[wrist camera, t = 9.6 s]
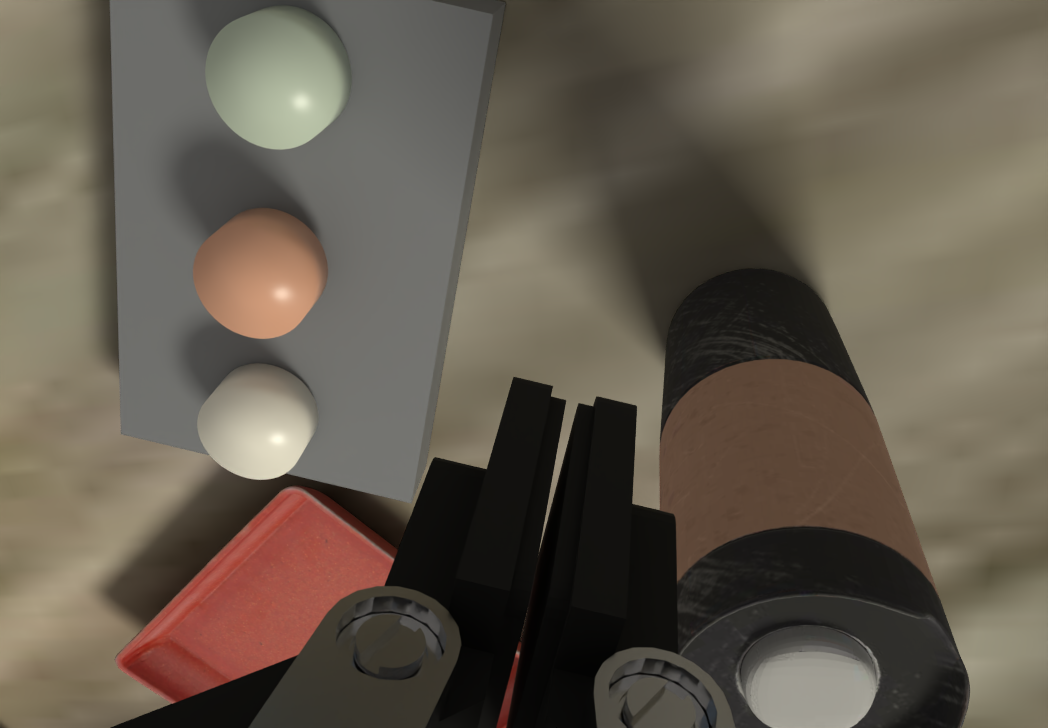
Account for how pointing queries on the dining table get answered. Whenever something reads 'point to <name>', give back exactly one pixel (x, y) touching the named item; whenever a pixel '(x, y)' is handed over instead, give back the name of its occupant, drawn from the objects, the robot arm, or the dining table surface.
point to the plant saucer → (262, 598)
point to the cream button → (258, 421)
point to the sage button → (278, 76)
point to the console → (321, 204)
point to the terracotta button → (260, 273)
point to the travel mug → (794, 522)
